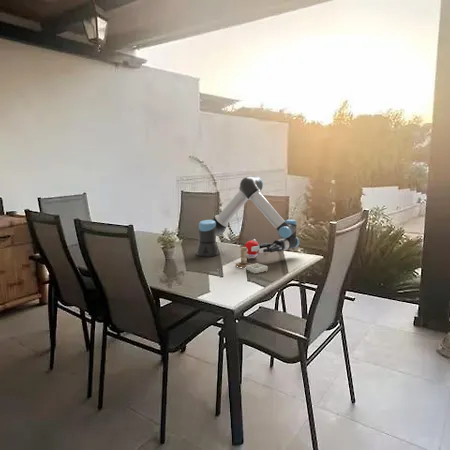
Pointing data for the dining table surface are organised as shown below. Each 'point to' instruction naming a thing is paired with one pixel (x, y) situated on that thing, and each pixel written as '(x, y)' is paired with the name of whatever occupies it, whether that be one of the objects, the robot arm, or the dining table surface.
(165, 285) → the dining table surface
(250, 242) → the mushroom
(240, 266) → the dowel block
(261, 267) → the tray
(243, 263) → the dowel
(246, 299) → the dining table surface
